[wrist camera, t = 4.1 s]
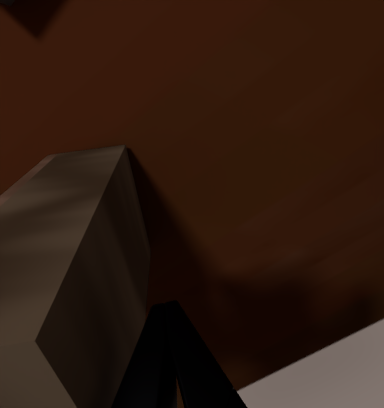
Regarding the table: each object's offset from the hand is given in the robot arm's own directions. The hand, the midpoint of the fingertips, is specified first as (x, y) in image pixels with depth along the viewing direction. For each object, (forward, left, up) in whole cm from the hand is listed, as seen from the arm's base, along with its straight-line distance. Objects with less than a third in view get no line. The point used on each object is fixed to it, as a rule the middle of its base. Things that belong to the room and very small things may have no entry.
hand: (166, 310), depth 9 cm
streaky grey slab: (+2, +2, -8) cm, 9 cm away
